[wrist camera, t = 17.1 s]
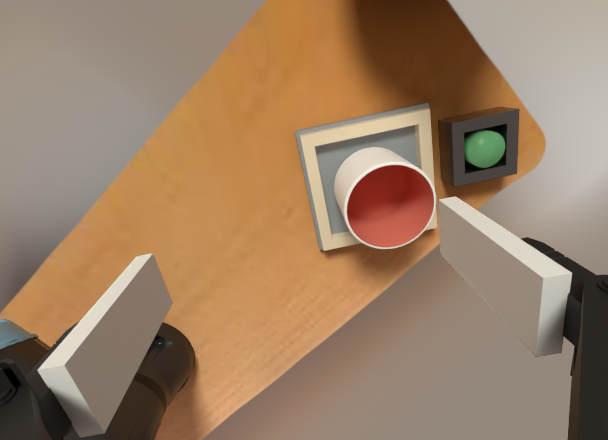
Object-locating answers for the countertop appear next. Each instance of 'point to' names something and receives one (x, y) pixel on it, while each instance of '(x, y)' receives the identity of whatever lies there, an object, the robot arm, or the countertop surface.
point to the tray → (347, 140)
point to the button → (483, 147)
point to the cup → (384, 198)
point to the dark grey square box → (453, 145)
